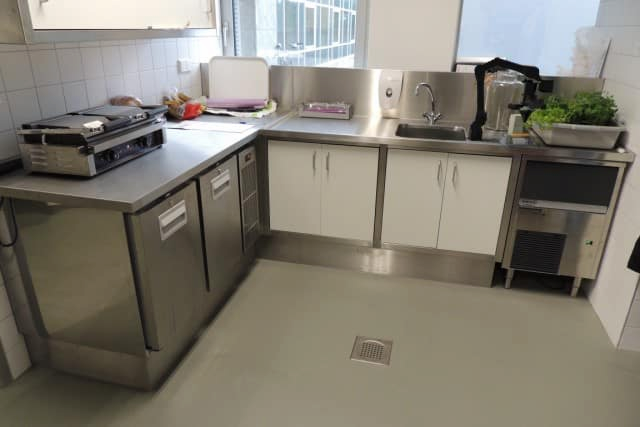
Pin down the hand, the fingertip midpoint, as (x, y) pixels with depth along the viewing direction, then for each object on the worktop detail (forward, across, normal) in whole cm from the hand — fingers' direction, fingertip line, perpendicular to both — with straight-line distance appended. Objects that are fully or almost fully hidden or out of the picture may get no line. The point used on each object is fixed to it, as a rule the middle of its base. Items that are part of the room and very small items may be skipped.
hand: (524, 123), depth 241 cm
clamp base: (+11, -2, 0) cm, 11 cm away
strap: (+7, -3, 0) cm, 8 cm away
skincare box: (+11, +6, +17) cm, 21 cm away
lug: (+11, +3, -4) cm, 12 cm away
